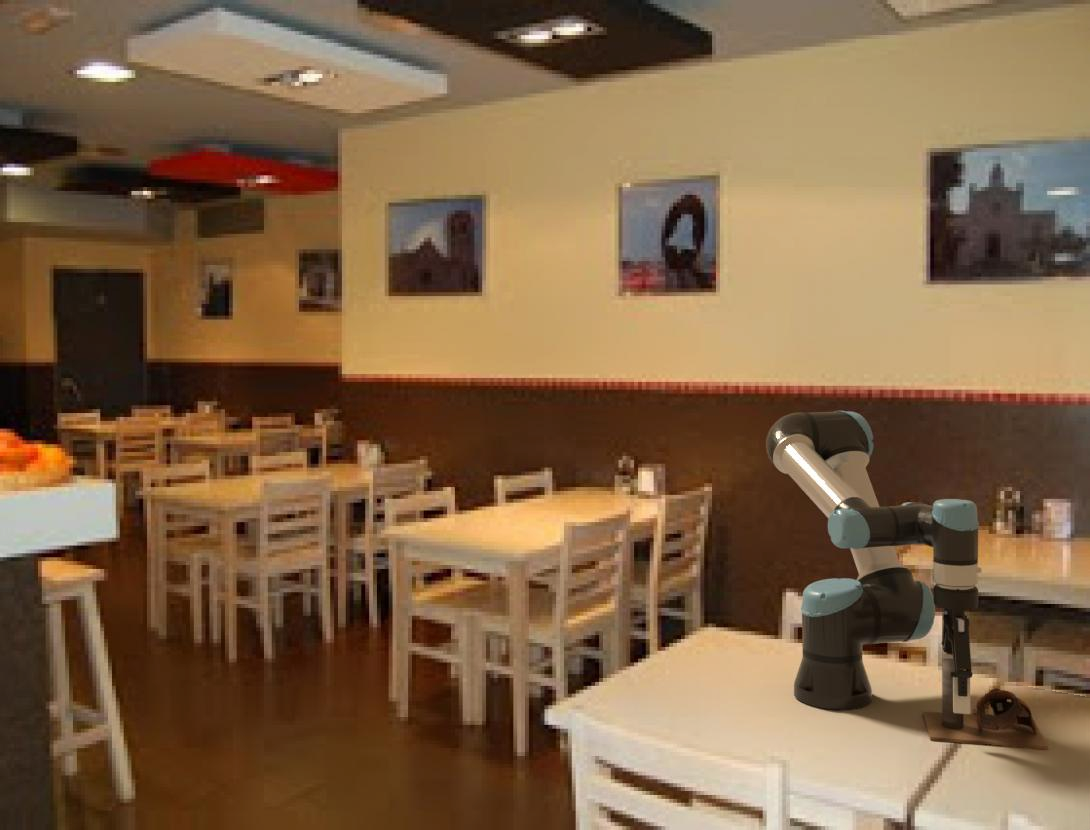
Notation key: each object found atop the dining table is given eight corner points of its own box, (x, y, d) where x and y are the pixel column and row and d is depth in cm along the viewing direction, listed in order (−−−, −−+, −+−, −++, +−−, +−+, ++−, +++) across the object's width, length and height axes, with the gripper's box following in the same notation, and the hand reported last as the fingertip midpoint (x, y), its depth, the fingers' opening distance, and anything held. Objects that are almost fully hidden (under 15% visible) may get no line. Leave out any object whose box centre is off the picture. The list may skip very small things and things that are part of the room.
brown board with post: (930, 740, 173) (930, 670, 172) (922, 714, 185) (922, 649, 184) (1047, 749, 167) (1048, 678, 167) (1032, 722, 180) (1032, 655, 179)
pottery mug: (1049, 743, 170) (1032, 707, 168) (997, 763, 172) (979, 728, 170) (1022, 703, 181) (1005, 669, 179) (974, 722, 183) (956, 688, 181)
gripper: (989, 601, 163) (990, 725, 164) (967, 571, 187) (968, 680, 188) (941, 600, 165) (942, 722, 166) (926, 570, 189) (927, 677, 190)
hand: (956, 700), depth 177 cm, fingers open, 13 cm apart
